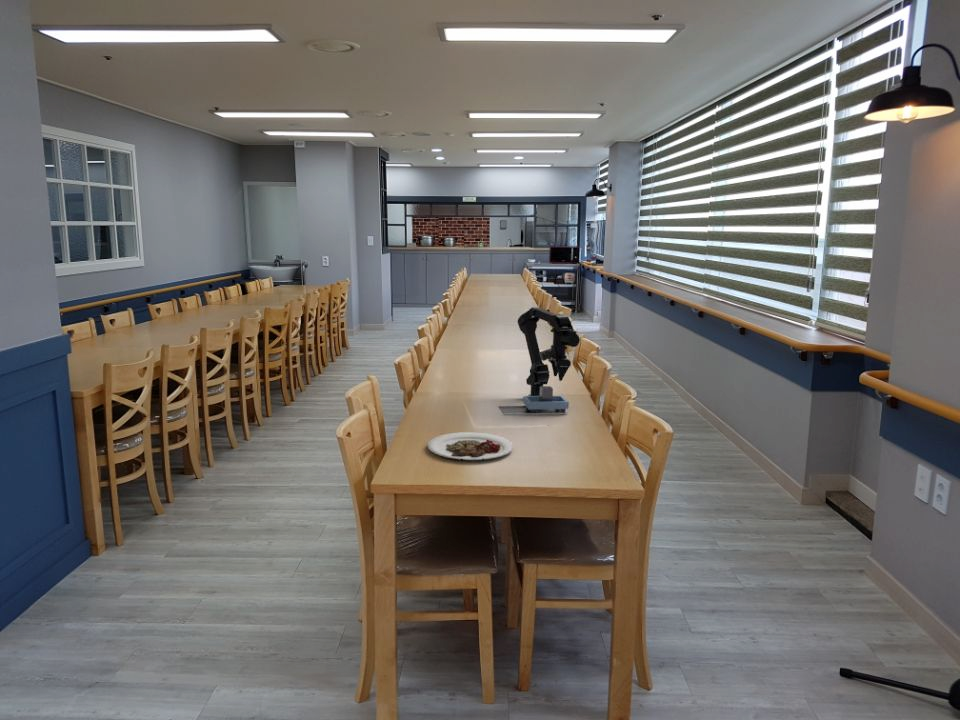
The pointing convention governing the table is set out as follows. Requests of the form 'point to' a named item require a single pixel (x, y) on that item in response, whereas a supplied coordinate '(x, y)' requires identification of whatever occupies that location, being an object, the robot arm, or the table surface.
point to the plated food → (470, 446)
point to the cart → (545, 403)
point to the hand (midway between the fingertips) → (557, 378)
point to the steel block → (546, 394)
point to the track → (528, 411)
